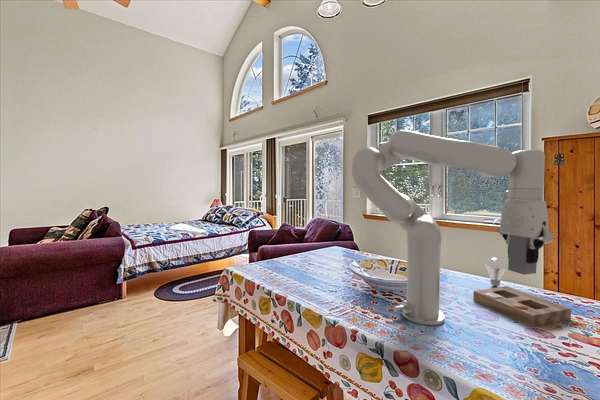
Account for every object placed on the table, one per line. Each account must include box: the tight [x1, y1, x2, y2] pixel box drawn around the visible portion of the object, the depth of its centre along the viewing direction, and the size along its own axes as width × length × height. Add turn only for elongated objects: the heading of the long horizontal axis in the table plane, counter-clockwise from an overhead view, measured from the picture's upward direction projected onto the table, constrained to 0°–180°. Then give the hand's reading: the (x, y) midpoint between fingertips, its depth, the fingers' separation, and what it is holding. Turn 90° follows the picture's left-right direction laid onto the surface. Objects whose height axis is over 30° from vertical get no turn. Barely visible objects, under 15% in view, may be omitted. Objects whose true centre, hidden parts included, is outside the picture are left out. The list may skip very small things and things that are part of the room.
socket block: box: [473, 285, 572, 328], centre depth 93 cm, size 16×20×4 cm
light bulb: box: [485, 257, 507, 288], centre depth 114 cm, size 7×7×12 cm
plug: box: [507, 235, 538, 276], centre depth 78 cm, size 4×4×15 cm
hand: (522, 259), depth 78 cm, fingers closed on plug, 4 cm apart
